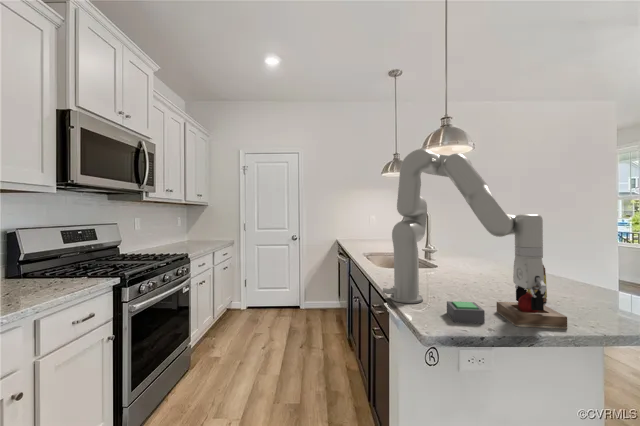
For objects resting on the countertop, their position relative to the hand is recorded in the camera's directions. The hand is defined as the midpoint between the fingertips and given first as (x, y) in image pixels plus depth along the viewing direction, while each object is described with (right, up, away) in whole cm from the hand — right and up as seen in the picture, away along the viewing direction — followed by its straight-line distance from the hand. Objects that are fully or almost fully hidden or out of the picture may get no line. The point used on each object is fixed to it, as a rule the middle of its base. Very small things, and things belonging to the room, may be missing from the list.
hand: (529, 305), depth 99 cm
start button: (-20, -3, +2) cm, 20 cm away
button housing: (-20, -5, +2) cm, 21 cm away
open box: (0, -5, 0) cm, 5 cm away
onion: (0, -4, 0) cm, 4 cm away
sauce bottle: (+17, -5, +21) cm, 27 cm away
